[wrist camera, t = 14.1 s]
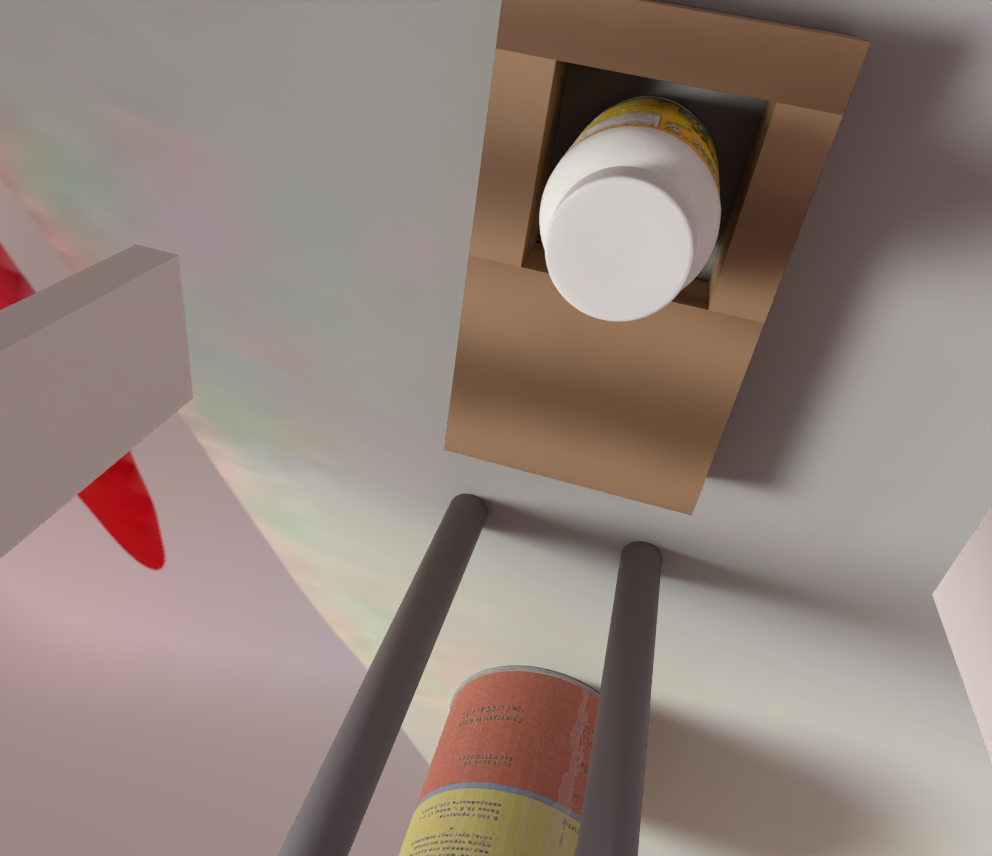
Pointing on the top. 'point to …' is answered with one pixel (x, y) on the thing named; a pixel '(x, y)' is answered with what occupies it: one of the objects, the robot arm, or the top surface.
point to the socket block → (696, 309)
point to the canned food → (508, 768)
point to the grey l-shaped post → (400, 664)
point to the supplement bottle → (632, 209)
